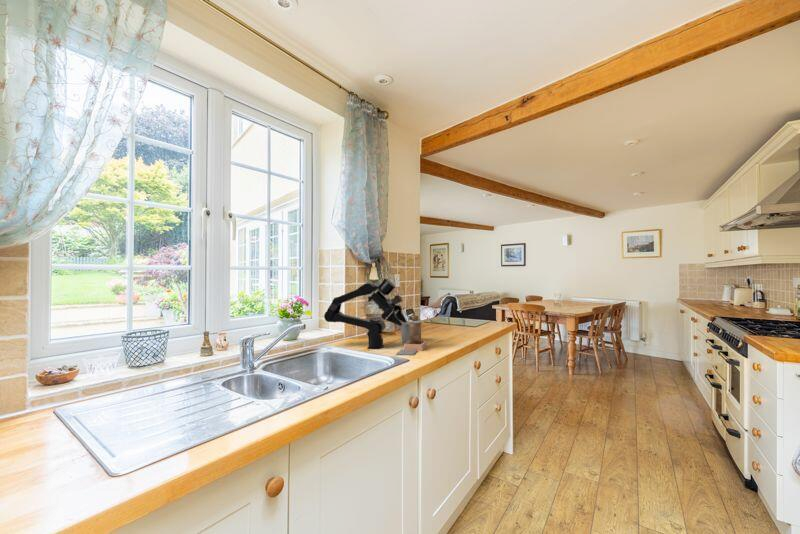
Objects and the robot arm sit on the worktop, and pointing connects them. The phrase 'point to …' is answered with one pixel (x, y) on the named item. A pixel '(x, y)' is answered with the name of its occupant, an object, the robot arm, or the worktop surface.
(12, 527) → the worktop surface
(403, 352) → the slate coaster
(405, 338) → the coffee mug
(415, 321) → the pepper mill
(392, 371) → the worktop surface
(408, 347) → the holder
